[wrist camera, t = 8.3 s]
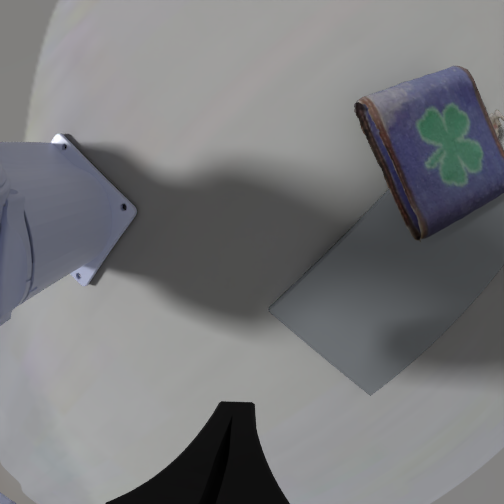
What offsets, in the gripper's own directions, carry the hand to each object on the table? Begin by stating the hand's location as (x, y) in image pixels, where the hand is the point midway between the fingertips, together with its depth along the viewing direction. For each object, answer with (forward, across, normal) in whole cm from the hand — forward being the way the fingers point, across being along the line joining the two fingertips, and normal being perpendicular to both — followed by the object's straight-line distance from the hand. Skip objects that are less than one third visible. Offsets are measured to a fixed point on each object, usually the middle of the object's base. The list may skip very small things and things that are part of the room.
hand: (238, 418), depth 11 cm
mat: (+11, -12, -3) cm, 16 cm away
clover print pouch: (+8, -8, -9) cm, 15 cm away
